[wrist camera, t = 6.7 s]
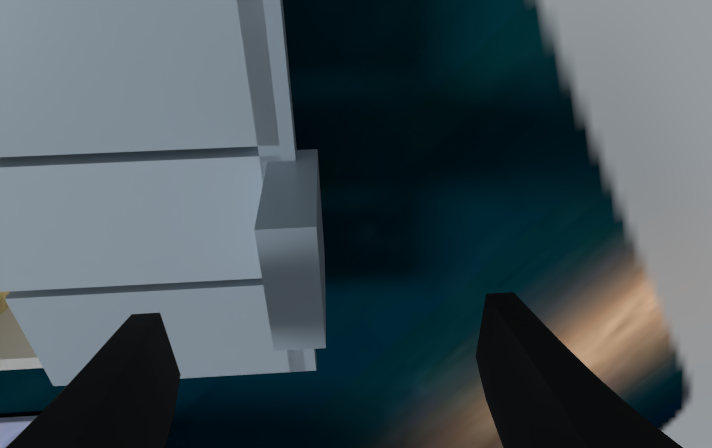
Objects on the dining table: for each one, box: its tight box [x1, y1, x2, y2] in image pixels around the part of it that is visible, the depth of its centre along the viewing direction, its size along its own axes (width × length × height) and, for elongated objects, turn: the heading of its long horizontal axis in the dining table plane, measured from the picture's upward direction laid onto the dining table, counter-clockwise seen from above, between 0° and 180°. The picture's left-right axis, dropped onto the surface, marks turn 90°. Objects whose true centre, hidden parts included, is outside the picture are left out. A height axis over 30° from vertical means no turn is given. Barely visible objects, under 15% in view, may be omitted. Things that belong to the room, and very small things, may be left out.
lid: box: [0, 0, 326, 386], centre depth 14 cm, size 14×10×4 cm
